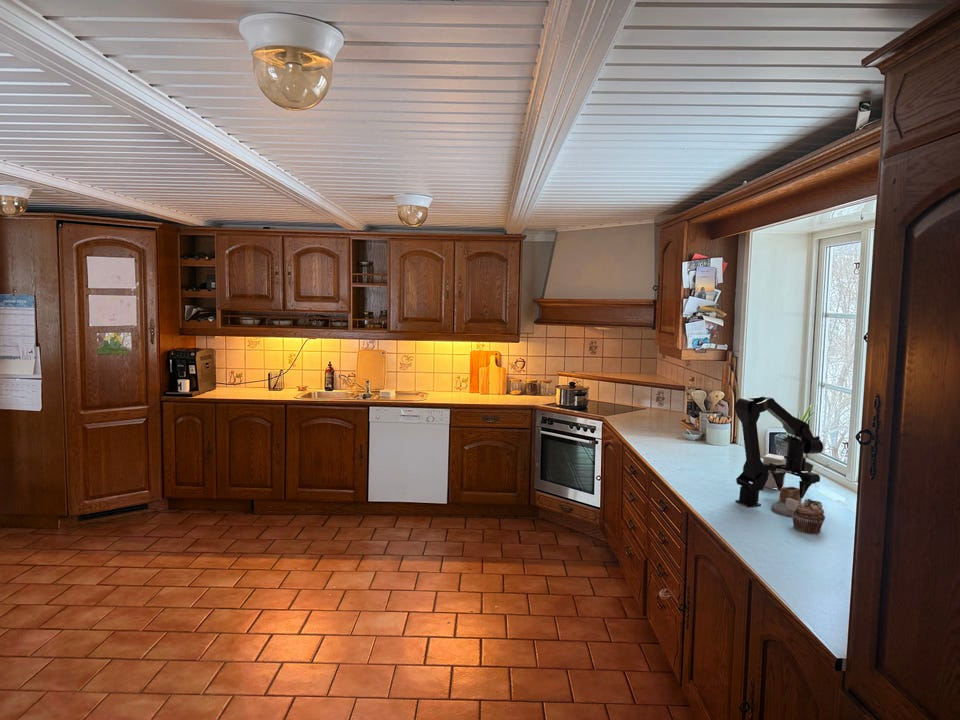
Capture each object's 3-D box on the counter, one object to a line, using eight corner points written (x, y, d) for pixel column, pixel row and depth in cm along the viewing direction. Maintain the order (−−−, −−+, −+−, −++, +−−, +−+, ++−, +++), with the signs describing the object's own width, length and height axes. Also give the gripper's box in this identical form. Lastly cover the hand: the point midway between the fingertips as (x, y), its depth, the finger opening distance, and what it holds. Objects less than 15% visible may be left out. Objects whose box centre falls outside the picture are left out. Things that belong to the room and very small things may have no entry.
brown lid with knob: (794, 519, 227) (796, 507, 226) (763, 508, 238) (764, 495, 238) (819, 516, 232) (820, 503, 232) (787, 504, 244) (789, 492, 244)
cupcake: (794, 522, 224) (797, 494, 223) (826, 530, 217) (829, 501, 216) (787, 529, 216) (790, 499, 215) (819, 537, 210) (822, 507, 209)
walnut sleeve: (789, 504, 245) (790, 491, 244) (778, 500, 249) (780, 487, 248) (801, 502, 248) (802, 489, 247) (791, 499, 252) (792, 486, 251)
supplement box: (765, 483, 273) (768, 453, 272) (784, 487, 269) (787, 456, 268) (759, 486, 268) (763, 455, 267) (779, 490, 263) (782, 459, 262)
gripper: (832, 458, 242) (827, 500, 243) (788, 447, 258) (783, 485, 260) (812, 460, 237) (807, 502, 238) (768, 448, 253) (764, 488, 255)
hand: (790, 494), depth 248 cm, fingers open, 9 cm apart
